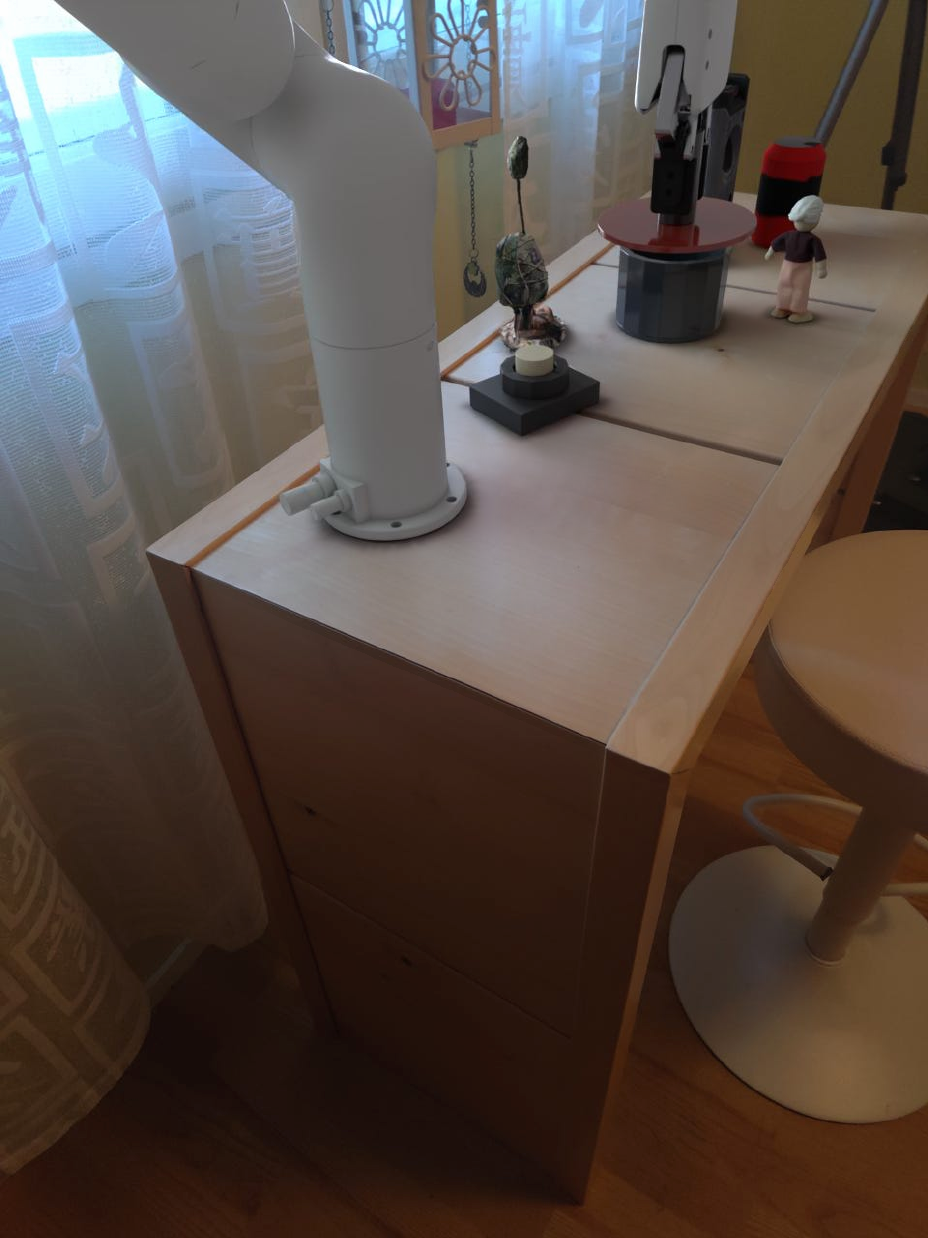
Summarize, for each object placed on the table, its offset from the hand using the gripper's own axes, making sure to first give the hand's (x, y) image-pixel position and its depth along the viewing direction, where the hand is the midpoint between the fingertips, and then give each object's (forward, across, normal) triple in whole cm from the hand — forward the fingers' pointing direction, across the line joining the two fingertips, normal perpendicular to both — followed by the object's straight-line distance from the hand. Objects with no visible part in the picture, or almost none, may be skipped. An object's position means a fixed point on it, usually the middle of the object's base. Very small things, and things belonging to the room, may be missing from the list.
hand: (677, 203), depth 71 cm
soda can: (+20, -53, +2) cm, 57 cm away
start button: (+16, +1, -12) cm, 20 cm away
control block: (+19, +1, -12) cm, 23 cm away
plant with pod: (+20, -13, -18) cm, 30 cm away
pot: (+20, -23, -5) cm, 30 cm away
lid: (+2, 0, 0) cm, 2 cm away
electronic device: (+20, -44, -7) cm, 49 cm away
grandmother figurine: (+20, -29, +7) cm, 36 cm away
